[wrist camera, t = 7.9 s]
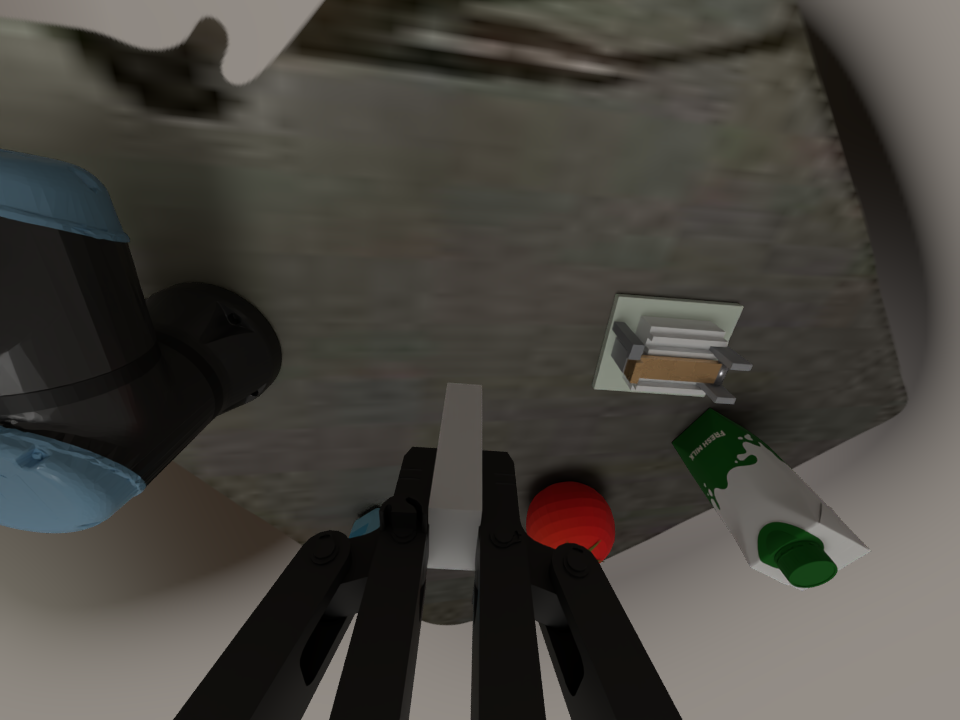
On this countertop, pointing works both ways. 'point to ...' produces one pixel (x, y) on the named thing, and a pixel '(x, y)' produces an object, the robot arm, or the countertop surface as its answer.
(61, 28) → the countertop surface
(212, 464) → the countertop surface
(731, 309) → the base
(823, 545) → the milk carton
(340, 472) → the countertop surface
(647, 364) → the wooden bar
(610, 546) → the tomato
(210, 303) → the robot arm
